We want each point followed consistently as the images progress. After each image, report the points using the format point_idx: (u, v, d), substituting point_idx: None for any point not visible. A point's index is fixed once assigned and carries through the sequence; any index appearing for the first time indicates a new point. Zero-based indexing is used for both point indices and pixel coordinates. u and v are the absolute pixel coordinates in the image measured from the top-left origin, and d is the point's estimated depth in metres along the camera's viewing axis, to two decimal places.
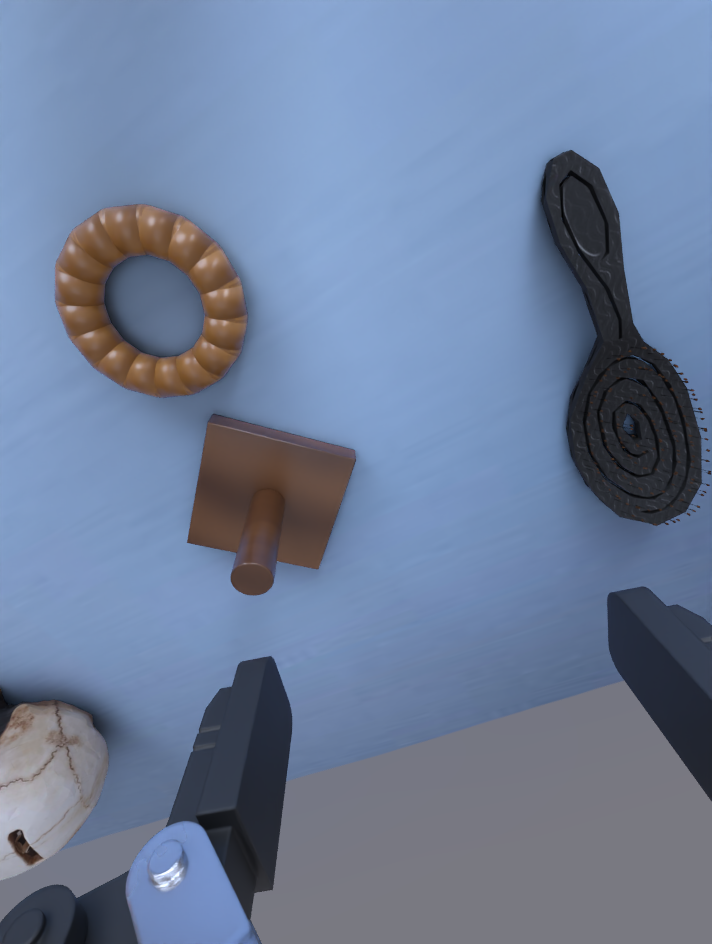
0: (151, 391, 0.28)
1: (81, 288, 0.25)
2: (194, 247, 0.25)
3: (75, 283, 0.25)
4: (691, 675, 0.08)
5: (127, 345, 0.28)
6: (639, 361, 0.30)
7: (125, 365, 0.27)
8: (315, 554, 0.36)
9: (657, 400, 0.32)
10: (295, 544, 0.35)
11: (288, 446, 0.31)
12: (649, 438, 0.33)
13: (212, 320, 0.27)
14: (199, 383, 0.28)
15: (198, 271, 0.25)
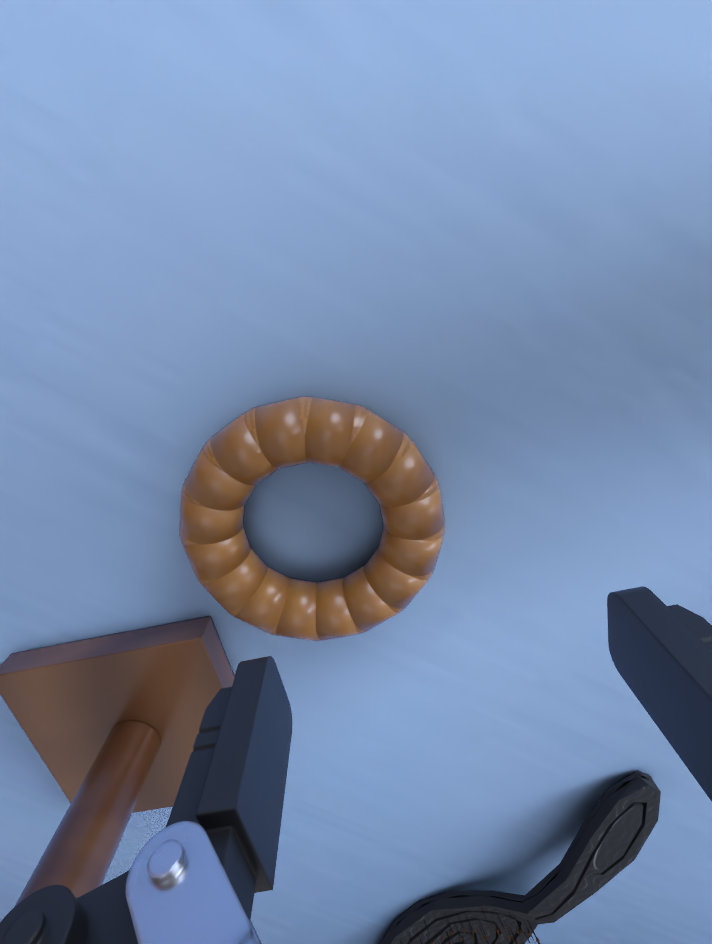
0: (202, 577, 0.18)
1: (293, 454, 0.17)
2: (423, 562, 0.18)
3: (296, 447, 0.16)
4: (691, 675, 0.08)
5: (243, 512, 0.19)
6: (517, 926, 0.29)
7: (216, 535, 0.18)
8: None
9: None
10: None
11: None
12: None
13: (345, 609, 0.19)
14: (252, 623, 0.19)
15: (398, 579, 0.18)
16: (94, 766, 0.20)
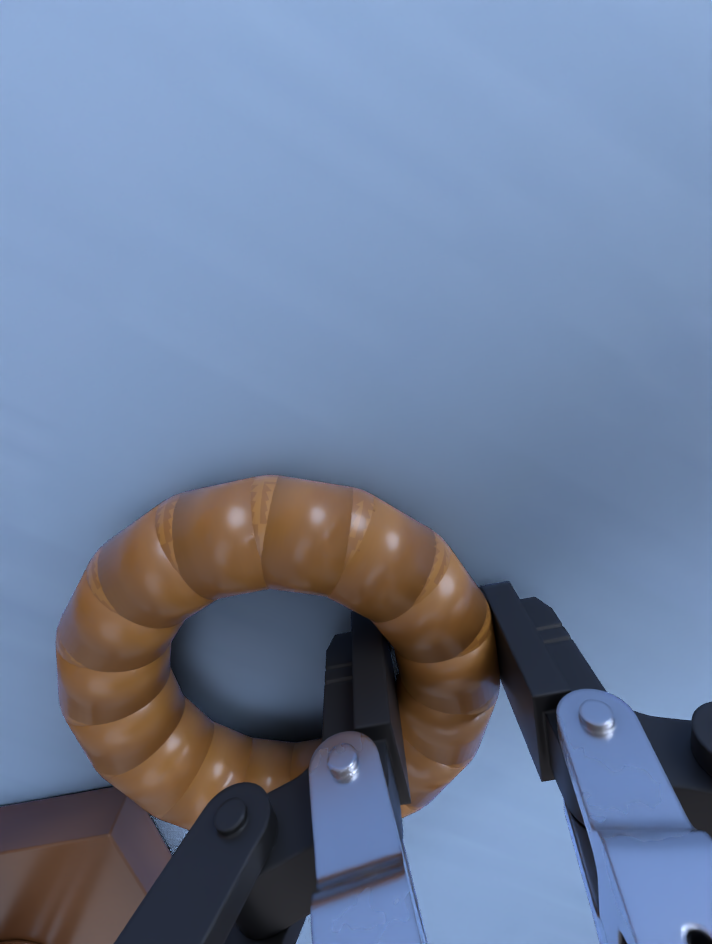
0: (98, 768, 0.11)
1: (243, 583, 0.09)
2: (465, 741, 0.11)
3: (246, 573, 0.09)
4: (514, 656, 0.09)
5: (167, 657, 0.11)
6: None
7: (117, 707, 0.10)
8: None
9: None
10: None
11: None
12: None
13: None
14: (187, 829, 0.12)
15: (424, 769, 0.11)
16: None
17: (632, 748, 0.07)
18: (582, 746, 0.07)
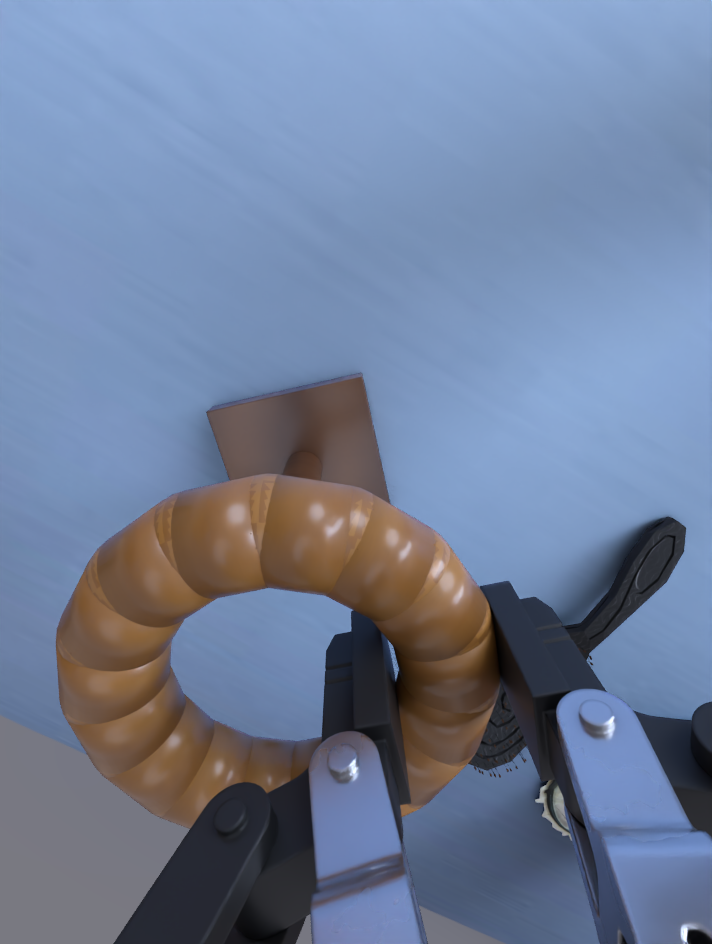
0: (99, 766, 0.11)
1: (242, 582, 0.09)
2: (465, 740, 0.11)
3: (245, 572, 0.09)
4: (515, 656, 0.09)
5: (167, 656, 0.11)
6: None
7: (117, 706, 0.10)
8: None
9: None
10: None
11: (375, 458, 0.31)
12: None
13: None
14: (188, 827, 0.12)
15: (424, 768, 0.11)
16: (288, 465, 0.28)
17: (632, 748, 0.07)
18: (582, 746, 0.07)
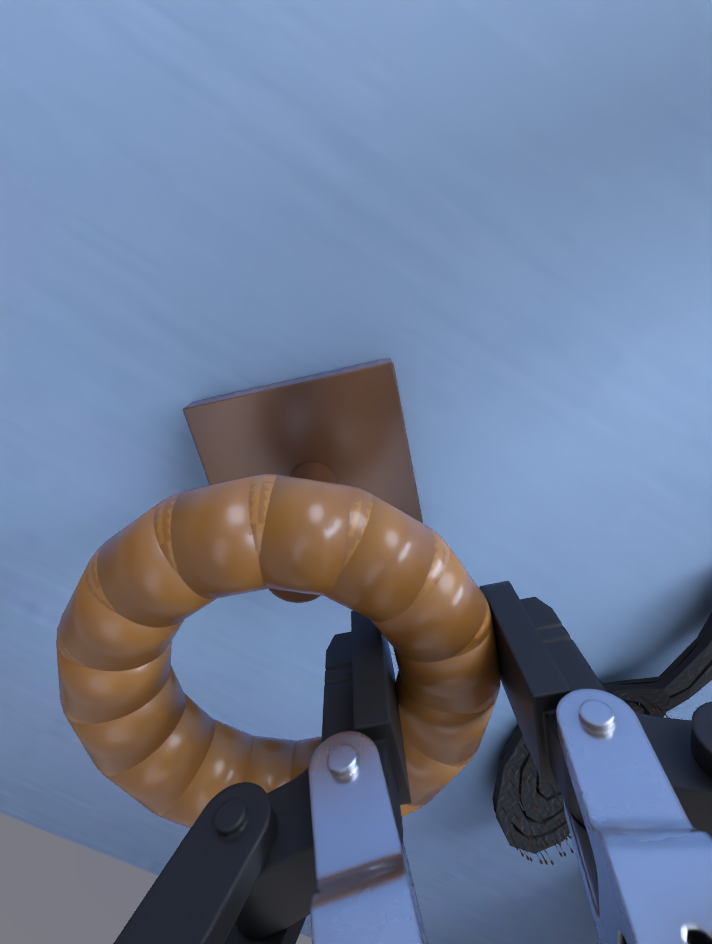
0: (99, 765, 0.11)
1: (241, 582, 0.09)
2: (465, 740, 0.11)
3: (244, 573, 0.09)
4: (514, 656, 0.09)
5: (168, 656, 0.11)
6: None
7: (117, 706, 0.10)
8: None
9: None
10: None
11: (407, 470, 0.23)
12: None
13: None
14: None
15: (424, 768, 0.11)
16: None
17: (632, 748, 0.07)
18: (582, 746, 0.07)
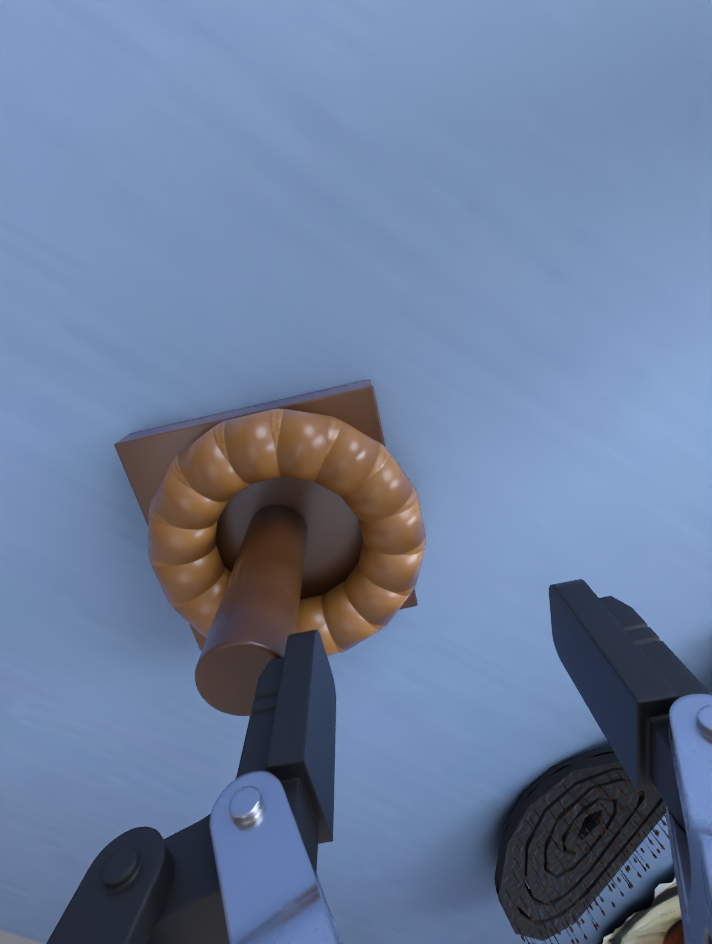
0: (173, 599, 0.18)
1: (265, 469, 0.16)
2: (404, 577, 0.18)
3: (268, 461, 0.16)
4: (608, 659, 0.09)
5: (215, 530, 0.18)
6: None
7: (187, 555, 0.17)
8: None
9: None
10: None
11: None
12: (587, 844, 0.28)
13: (324, 628, 0.18)
14: None
15: (378, 595, 0.18)
16: (250, 535, 0.17)
17: None
18: (694, 749, 0.07)
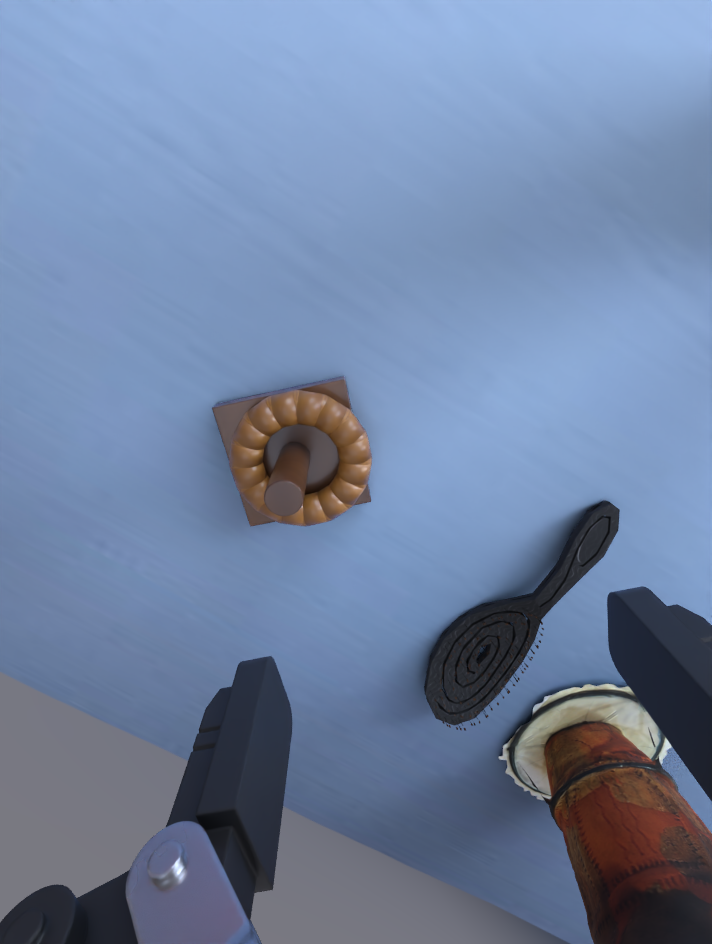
0: (241, 487, 0.34)
1: (290, 418, 0.33)
2: (360, 477, 0.35)
3: (292, 415, 0.33)
4: (691, 675, 0.08)
5: (263, 452, 0.35)
6: (527, 625, 0.43)
7: (250, 463, 0.34)
8: (265, 517, 0.38)
9: (506, 652, 0.45)
10: None
11: None
12: (482, 667, 0.44)
13: (319, 505, 0.35)
14: (268, 514, 0.35)
15: (346, 487, 0.35)
16: (282, 453, 0.34)
17: None
18: None
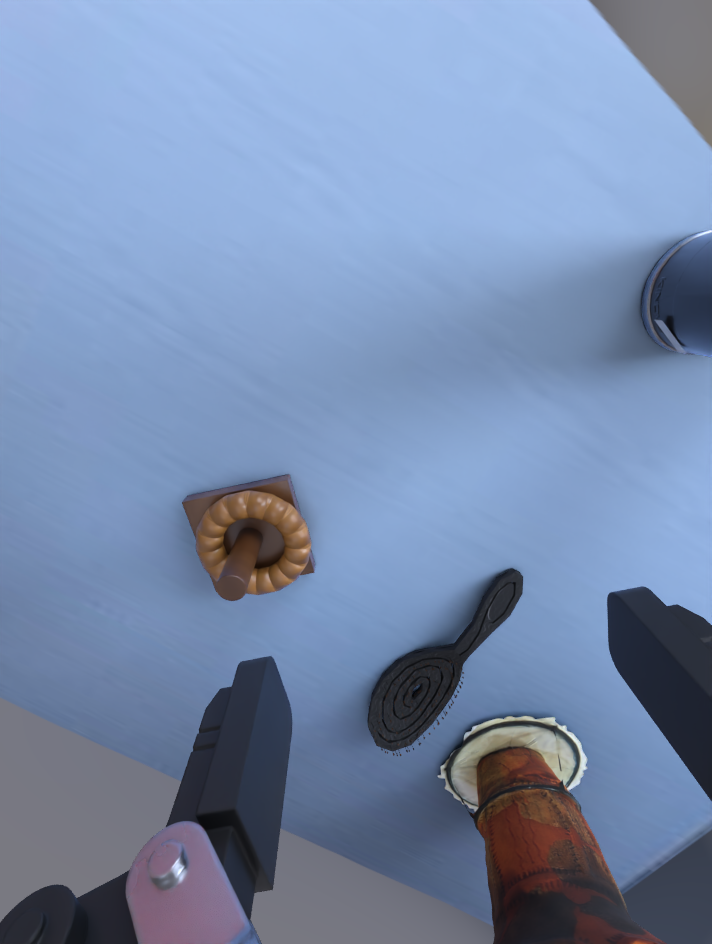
0: (205, 566, 0.43)
1: (242, 515, 0.41)
2: (300, 558, 0.43)
3: (243, 512, 0.41)
4: (691, 675, 0.08)
5: (223, 538, 0.43)
6: (452, 669, 0.51)
7: (211, 548, 0.42)
8: None
9: (437, 690, 0.53)
10: None
11: None
12: (416, 702, 0.53)
13: (268, 579, 0.44)
14: None
15: (290, 566, 0.43)
16: (237, 540, 0.42)
17: None
18: None
